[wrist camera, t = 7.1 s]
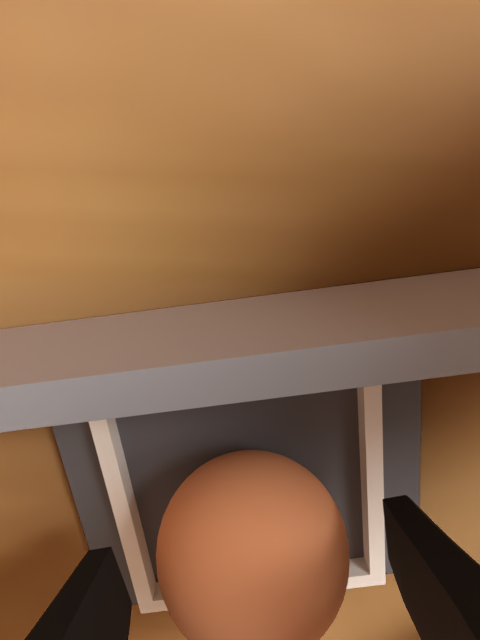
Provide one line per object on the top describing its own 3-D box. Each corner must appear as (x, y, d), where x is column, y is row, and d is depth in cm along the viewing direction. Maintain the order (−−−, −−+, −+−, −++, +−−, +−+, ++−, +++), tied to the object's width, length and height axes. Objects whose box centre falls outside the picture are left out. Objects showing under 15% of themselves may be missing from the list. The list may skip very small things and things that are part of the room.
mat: (416, 326, 13) (433, 339, 12) (414, 560, 16) (427, 587, 15) (42, 373, 13) (27, 391, 12) (109, 597, 16) (101, 627, 15)
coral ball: (314, 401, 13) (366, 532, 8) (334, 530, 15) (386, 700, 10) (150, 432, 13) (110, 578, 9) (187, 556, 15) (171, 737, 10)
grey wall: (506, 264, 12) (628, 307, 9) (503, 298, 13) (620, 354, 9) (-59, 336, 13) (-181, 409, 9) (-47, 368, 13) (-160, 453, 9)
